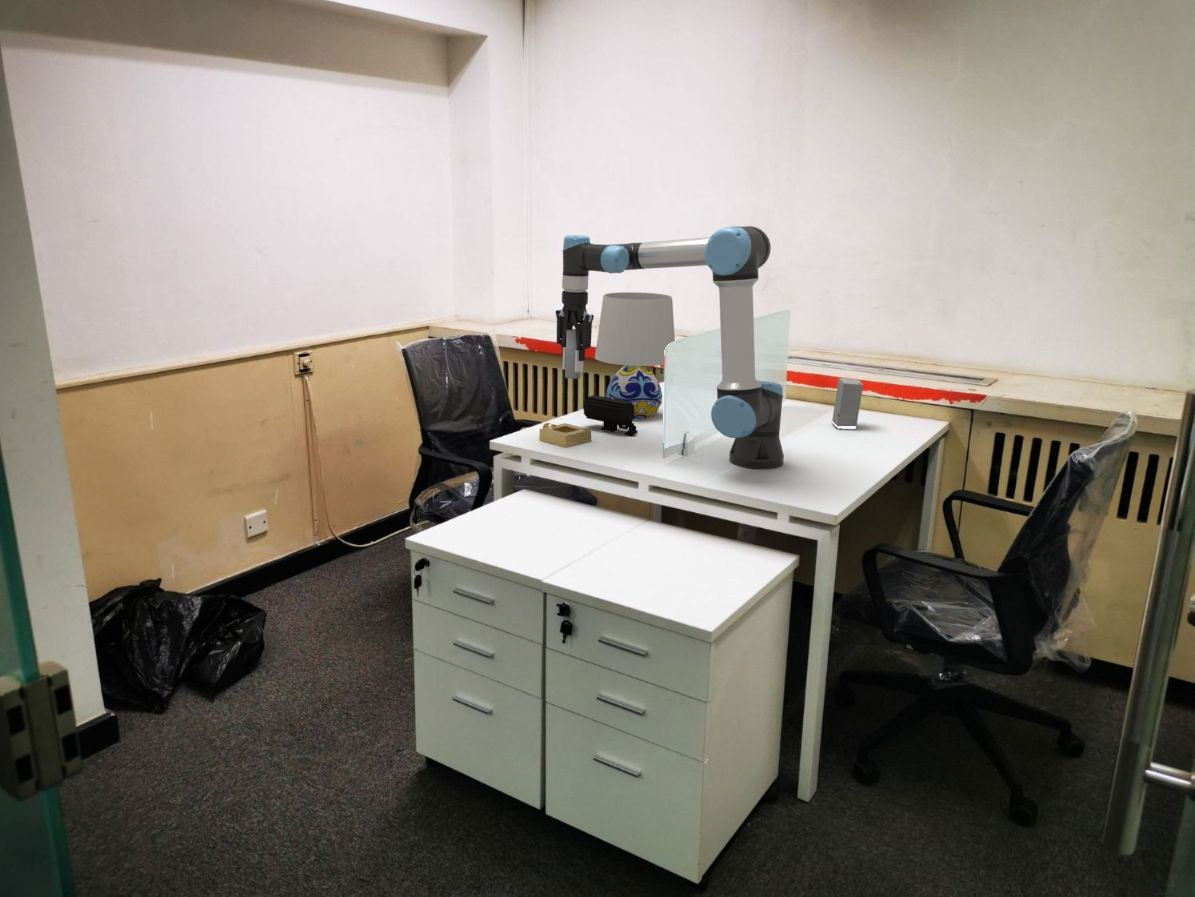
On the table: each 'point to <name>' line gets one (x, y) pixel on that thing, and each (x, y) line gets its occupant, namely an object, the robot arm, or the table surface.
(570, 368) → the grey rounded cylinder
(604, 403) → the security camera
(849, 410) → the skincare box
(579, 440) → the gold square frame
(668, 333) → the table lamp
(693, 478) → the table surface
